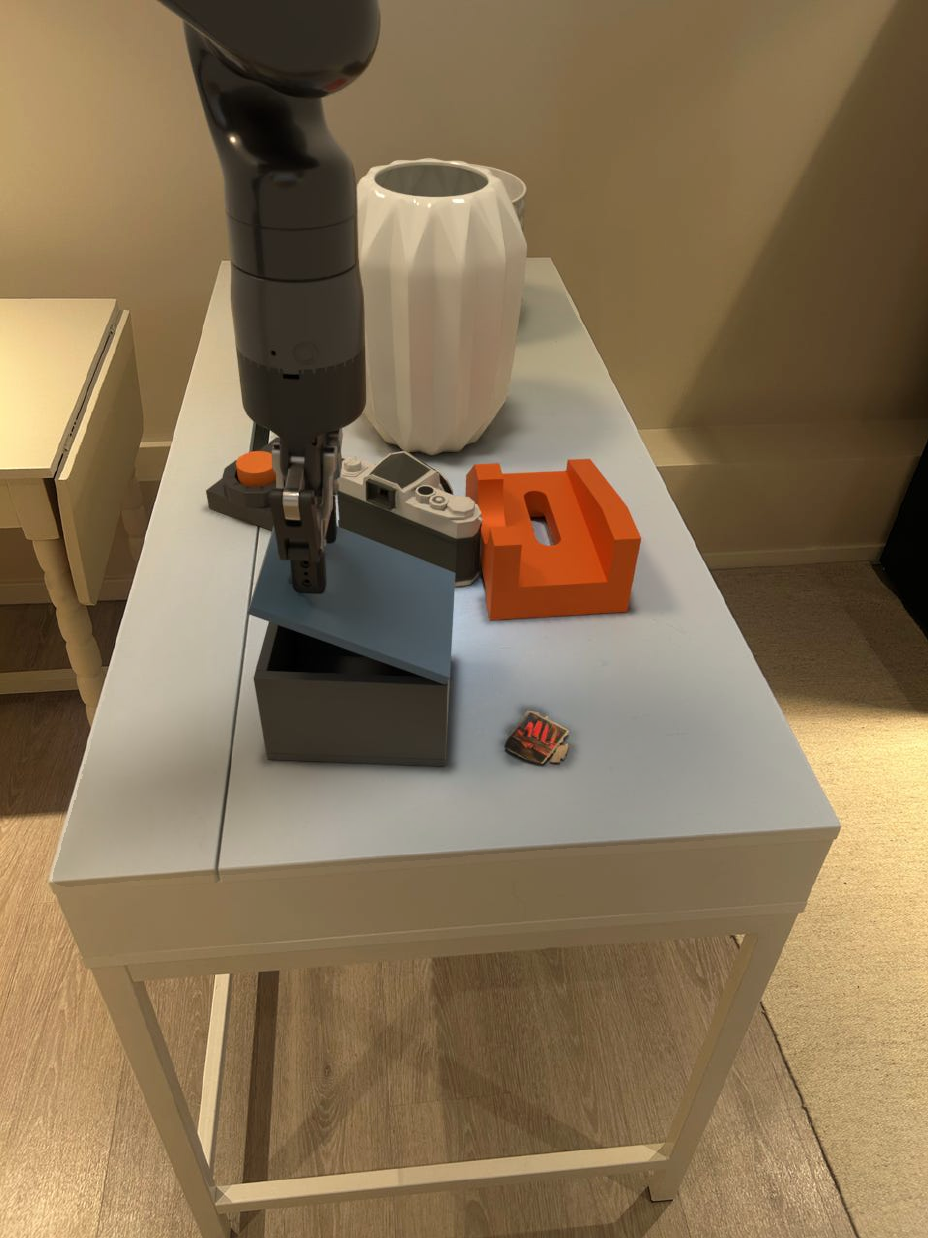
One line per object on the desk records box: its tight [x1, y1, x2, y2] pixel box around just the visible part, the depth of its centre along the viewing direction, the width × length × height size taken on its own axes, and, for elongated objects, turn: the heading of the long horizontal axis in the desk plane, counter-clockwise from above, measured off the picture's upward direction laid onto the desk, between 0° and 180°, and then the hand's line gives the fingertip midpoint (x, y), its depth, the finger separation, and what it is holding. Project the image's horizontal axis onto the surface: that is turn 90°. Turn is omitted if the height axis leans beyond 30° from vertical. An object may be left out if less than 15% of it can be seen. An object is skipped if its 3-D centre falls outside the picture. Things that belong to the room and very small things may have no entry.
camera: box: [336, 450, 483, 588], centre depth 89 cm, size 16×9×10 cm, turn 58°
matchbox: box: [504, 709, 570, 765], centre depth 73 cm, size 5×5×1 cm
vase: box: [356, 157, 528, 456], centre depth 99 cm, size 20×20×28 cm
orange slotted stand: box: [464, 458, 642, 621], centre depth 88 cm, size 18×13×8 cm
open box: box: [253, 621, 452, 767], centre depth 73 cm, size 14×12×9 cm
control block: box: [205, 436, 346, 532], centre depth 96 cm, size 12×9×4 cm
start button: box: [236, 450, 276, 486], centre depth 93 cm, size 4×4×2 cm
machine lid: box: [247, 496, 456, 684], centre depth 66 cm, size 14×12×5 cm
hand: (315, 563), depth 66 cm, fingers closed on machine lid, 5 cm apart
